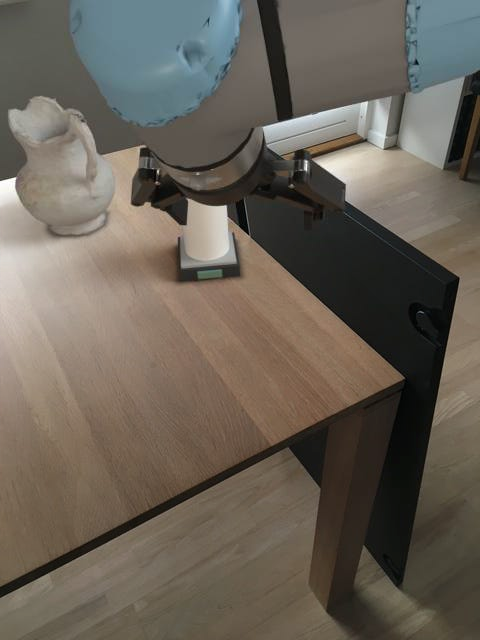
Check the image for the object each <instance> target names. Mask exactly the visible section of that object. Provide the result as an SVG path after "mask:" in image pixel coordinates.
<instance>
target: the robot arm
mask: <svg viewBox="0 0 480 640" xmlns="http://www.w3.org/2000/svg"><path fill="white" fill-rule="evenodd" d="M69 3H70V4H69V32H70V37H71V39H72V41H73V45H74V48H75V50H76V53H77V55H78V56H79V60H80V61H81V63H82V64H83V66H84V67H85V68H86V70H87V72H88V74H89V75H90V77H91V78H92V79H93V81H94V82H95V85H96V86H97V88H98V90H99V92H100V95H101V96H102V98H103V99H104V100H105V101H106V105H107V106H108V107H109V108H110V109H111V110H112V111H113V112H114V113H115V115H116V116H117V117H119V118H121V119H122V120H123V121H124V122H125V123H127V125H128V126H129V128H131V130H132V131H133V132H134V133H135V134H136V136H137V137H138V138H139V139H140V140H141V142H142V144H143V145H144V147H141V148H139V157H138V166H137V167H138V168H137V169H136V171H135V173H134V175H133V177H132V179H131V191H130V194H131V195H130V205H131V206H133V207H136V208H139V207H143V206H144V205H145V203H150V207H151V208H153V209H154V210H155V209H156V210H160V211H161V212H165V213H166V214H168V215H169V216H170V218H172V220H174V221H175V222H176V224H178V225H179V226H182V225H187V213H188V200H187V199H186V198H188V199H192V200H193V201H195V202H198V203H200V204H203V205H208V206H225V205H227V206H229V205H232V204H235V203H238V202H239V201H241V200H243V199H245V198H249V199H251V200H255V201H258V202H261V203H265V202H269V201H276V202H279V203H283V204H286V205H288V206H291V207H294V208H298V209H300V210H303V225H304V226H303V228H304V231H312V229H313V228H312V226H313V222H324V221H325V211H326V210H325V209H327V210H329V211H331V212H333V213H336V214H339V213H340V214H341V213H343V212H345V210H346V194H347V193H346V191H347V184H346V182H344V181H342V180H341V179H339V178H338V177H337V176H336V175H334V174H332V172H330V171H328V170H327V169H326V168H324V167H323V166H321V165H320V164H319V163H317V162H316V161H314V160H313V158H312V155H311V152H310V151H309V150H307V149H304V148H303V149H301V148H300V149H297V150H295V151H293V153H294V154H293V155H292V156H290V157H289V159H288V160H287V159H285V160H284V159H283V160H277V159H276V157H275V156H274V155H273V154H271V153H269V151H268V146H267V141H266V136H265V131H264V126H268V125H272V124H276V123H280V122H284V121H288V120H292V119H294V118H299V117H302V116H303V117H304V116H308V115H312V114H317V113H321V112H326V111H330V110H335V109H339V108H345V107H349V106H354V105H357V104H362V103H367V102H372V101H376V100H380V99H386V98H389V97H394V96H398V95H403V94H408V93H412V94H413V95H414V94H420V93H422V92H423V91H424V90H426V89H428V88H431V87H435V86H438V85H442V84H444V83H445V84H446V83H448V82H451V81H454V80H455V81H456V80H457V79H461V78H464V77H467V76H471V75H473V74H475V73H477V72H478V71H480V0H70V2H69Z"/></svg>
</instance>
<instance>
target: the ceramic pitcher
mask: <svg viewBox="0 0 480 640" xmlns="http://www.w3.org/2000/svg"><path fill="white" fill-rule="evenodd" d="M56 99H57V98H56V97H53V98H50V97H48V96H44V95H39V96H32V98H30V99H28V101H29V102H28V103H27V105H26V107H25V109H23V110H22V109H21V110H20V109H18V108H12V109H11V108H10V109H7V122H8V127H9V129H10V130H11V132H12V134H13V136H14V138H15V140H16V141H17V142H18V143H19V144H20V145H21V147H22V148H23V150H24V152H25V155H26V159H27V160H26V163H25V164H24V165H23V166H22V167H21V168H20V170H19V171H18V172H17V175H16V178H15V181H14V182H15V183H14V189H15V191H16V194H17V196H18V199H19V201H20V203H21V204H22V206H23V207H24V209H25V210H26V211H27V212H28V214H30V215H31V216H32V217H33V218H34V219H36V220H38V221H39V222H42V223H44V224H46V225H49V226H50V227H49V228H50V230H51V231H52V232H53V233H54V234H55V235H56V236H80V235H89V234H90V233H92V232H94V231H95V230H97V229H99V228H101V227H102V226H103V225H104V224H105V221H106V216H107V213H106V210H107V209H108V208H109V207H110V205H111V203H112V201H113V199H114V196H115V193H116V189H115V188H116V178H115V177H116V176H115V173H114V169H113V166H112V165H111V163H110V162H109V160H107V159H106V158H105V156H103V155H101V154H100V153H98V152H97V145H96V141H95V138H94V135H93V133H92V131H91V129H90V128H89V126H88V124H87V123H88V121H87V119H86V118H85V117H84V114H83V113H81V112H80V110H79V109H75V108H63V107H62V106H61V105H60V104H59V103H58V101H57V100H56Z"/></svg>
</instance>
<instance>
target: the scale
mask: <svg viewBox="0 0 480 640" xmlns="http://www.w3.org/2000/svg"><path fill="white" fill-rule="evenodd" d="M228 234H229V250H228V252H227V253H226V254H225V255H224V256H222V257H220V258H218V259H215V260H210V261H200V260H195V259H193V258H191V257H189V256H188V255H187V254H186V251H185V245H184V237H183V235H179V236H178V237H177V268H178V277H179V282H187V281H199V280H209V279H211V280H212V279H220V278H231V277H240V276H241V265H240V260H239V253H238V245H237V240H236V235H235V232H234V231H232V230H230V231H229V230H228Z"/></svg>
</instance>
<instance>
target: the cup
mask: <svg viewBox="0 0 480 640" xmlns="http://www.w3.org/2000/svg"><path fill="white" fill-rule="evenodd" d="M186 199H187V200H188V213H187V225H181V229H182V236H183V237H184V245H185V251H186V254H187V255H188V256H189V257H191V258H193V259H195V260H200V261H210V260H215V259H218V258H220V257H222V256H224V255H225V254H226V253H227V252H228V250H229V234H228V232H229V221H228V219H229V218H228V205H225V206H208V205H203V204H200V203H198V202H195V201H193V200H192V199H188V198H186Z"/></svg>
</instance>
